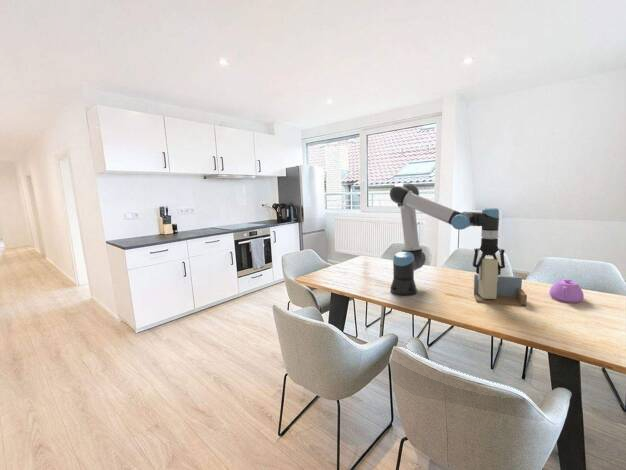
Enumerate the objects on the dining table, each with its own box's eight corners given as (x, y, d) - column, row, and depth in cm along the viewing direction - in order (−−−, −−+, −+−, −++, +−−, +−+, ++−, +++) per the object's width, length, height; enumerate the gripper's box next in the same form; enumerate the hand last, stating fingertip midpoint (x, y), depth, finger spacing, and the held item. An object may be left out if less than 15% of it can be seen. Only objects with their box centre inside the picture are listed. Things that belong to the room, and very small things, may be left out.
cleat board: (476, 302, 155) (477, 280, 154) (473, 294, 166) (474, 274, 164) (526, 306, 147) (527, 283, 145) (519, 298, 158) (521, 276, 156)
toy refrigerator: (498, 299, 153) (499, 260, 150) (482, 298, 154) (483, 260, 151) (492, 293, 160) (493, 256, 157) (478, 293, 162) (478, 256, 159)
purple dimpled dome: (585, 296, 157) (587, 277, 155) (581, 307, 143) (583, 286, 142) (552, 290, 167) (553, 272, 165) (546, 300, 153) (547, 281, 152)
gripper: (468, 238, 153) (467, 280, 157) (514, 239, 145) (511, 283, 149) (467, 236, 160) (465, 276, 163) (510, 237, 152) (508, 279, 156)
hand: (487, 279), depth 156 cm, fingers closed on toy refrigerator, 7 cm apart
